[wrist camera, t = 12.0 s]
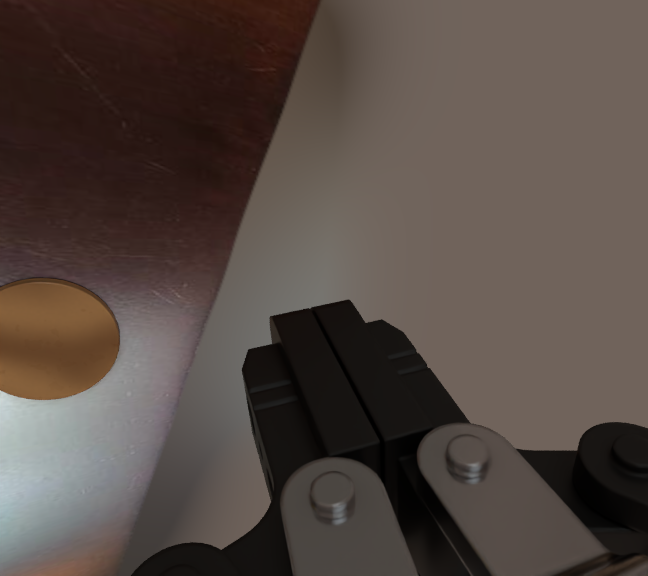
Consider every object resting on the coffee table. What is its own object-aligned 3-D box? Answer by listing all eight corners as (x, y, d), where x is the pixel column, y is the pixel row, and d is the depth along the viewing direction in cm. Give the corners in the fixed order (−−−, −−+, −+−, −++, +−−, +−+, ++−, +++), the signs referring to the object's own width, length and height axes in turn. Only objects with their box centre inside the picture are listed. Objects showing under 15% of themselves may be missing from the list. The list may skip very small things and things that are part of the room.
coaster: (-59, 295, 35) (-61, 299, 34) (99, 264, 37) (99, 268, 36) (-4, 409, 39) (-5, 414, 39) (133, 376, 41) (133, 381, 41)
